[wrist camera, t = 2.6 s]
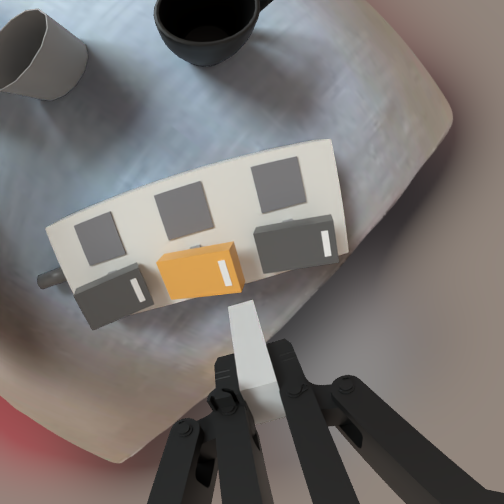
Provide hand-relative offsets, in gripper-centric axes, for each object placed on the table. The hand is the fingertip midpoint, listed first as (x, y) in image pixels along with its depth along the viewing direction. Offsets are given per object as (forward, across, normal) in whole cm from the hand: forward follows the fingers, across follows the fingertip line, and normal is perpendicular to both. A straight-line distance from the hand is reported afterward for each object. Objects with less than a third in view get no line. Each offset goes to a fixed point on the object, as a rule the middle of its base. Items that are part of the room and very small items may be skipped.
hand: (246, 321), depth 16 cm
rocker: (+9, +6, 0) cm, 11 cm away
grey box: (+9, -12, 0) cm, 15 cm away
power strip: (+16, -6, +3) cm, 17 cm away
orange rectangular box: (+9, -3, 0) cm, 10 cm away
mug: (+16, +5, +23) cm, 28 cm away
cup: (+16, -14, +27) cm, 34 cm away
